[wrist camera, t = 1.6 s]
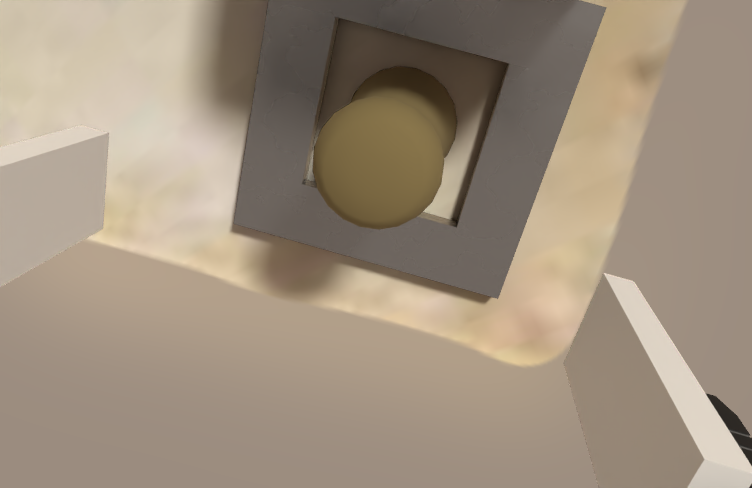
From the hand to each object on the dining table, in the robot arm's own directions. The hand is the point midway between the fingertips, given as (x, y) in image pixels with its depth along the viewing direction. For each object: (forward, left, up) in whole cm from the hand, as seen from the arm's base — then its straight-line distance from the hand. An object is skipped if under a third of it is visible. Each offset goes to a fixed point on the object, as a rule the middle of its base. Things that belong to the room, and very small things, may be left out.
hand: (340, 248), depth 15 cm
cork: (0, 0, -18) cm, 18 cm away
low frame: (0, 0, -18) cm, 18 cm away
